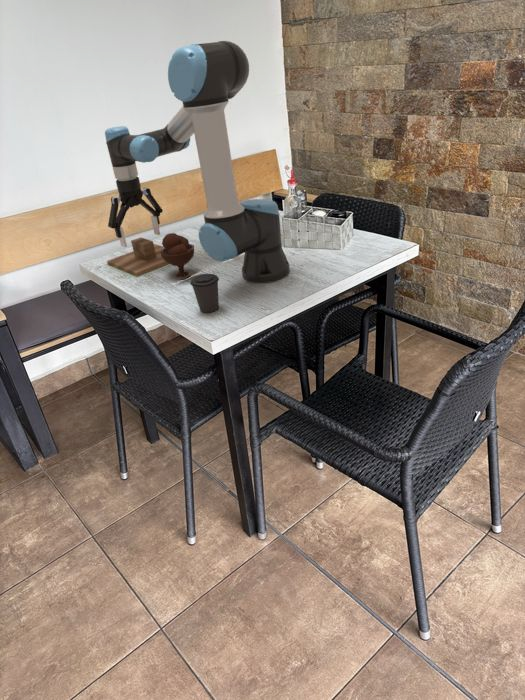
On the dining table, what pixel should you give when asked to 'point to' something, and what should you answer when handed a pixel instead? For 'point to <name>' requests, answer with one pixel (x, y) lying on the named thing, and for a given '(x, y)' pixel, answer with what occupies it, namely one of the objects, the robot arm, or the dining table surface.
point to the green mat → (133, 275)
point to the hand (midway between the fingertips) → (141, 240)
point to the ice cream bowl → (177, 252)
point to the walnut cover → (140, 258)
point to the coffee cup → (206, 292)
